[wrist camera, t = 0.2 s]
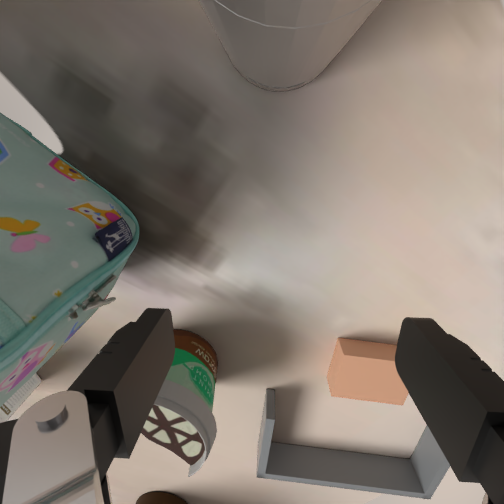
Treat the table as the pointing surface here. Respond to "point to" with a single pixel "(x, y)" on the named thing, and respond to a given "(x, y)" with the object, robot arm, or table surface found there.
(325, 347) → the table surface
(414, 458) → the box
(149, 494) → the olive oil
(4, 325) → the lunch box
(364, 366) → the tile
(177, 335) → the food container
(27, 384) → the syrup box
